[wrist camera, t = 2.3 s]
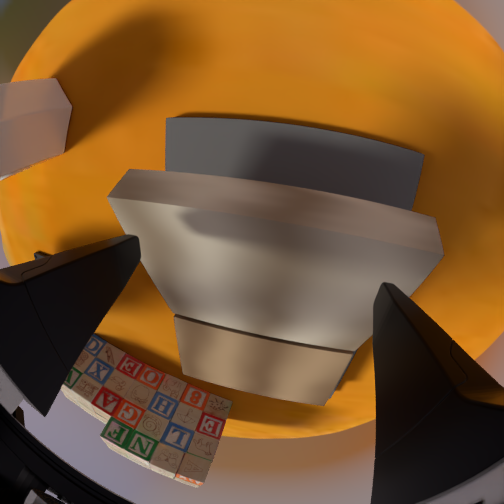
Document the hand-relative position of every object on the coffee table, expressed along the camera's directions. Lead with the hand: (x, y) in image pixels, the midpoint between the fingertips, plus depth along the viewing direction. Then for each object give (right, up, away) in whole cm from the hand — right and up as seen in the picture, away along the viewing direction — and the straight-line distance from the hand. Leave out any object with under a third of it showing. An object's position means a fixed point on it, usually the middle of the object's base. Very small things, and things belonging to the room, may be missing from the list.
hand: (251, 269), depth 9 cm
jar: (-20, +13, +9) cm, 25 cm away
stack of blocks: (-13, -16, +23) cm, 31 cm away
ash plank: (+1, 0, +6) cm, 6 cm away
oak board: (+1, -8, +14) cm, 16 cm away
